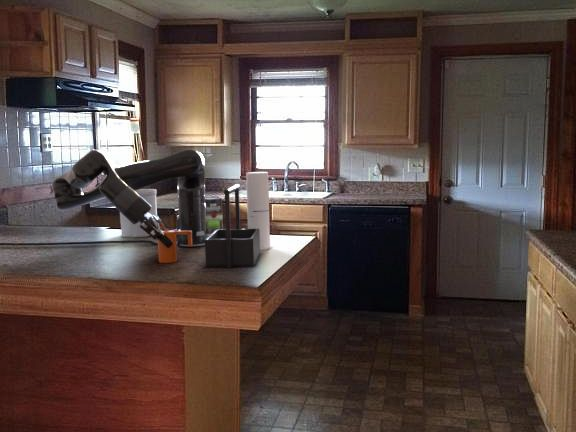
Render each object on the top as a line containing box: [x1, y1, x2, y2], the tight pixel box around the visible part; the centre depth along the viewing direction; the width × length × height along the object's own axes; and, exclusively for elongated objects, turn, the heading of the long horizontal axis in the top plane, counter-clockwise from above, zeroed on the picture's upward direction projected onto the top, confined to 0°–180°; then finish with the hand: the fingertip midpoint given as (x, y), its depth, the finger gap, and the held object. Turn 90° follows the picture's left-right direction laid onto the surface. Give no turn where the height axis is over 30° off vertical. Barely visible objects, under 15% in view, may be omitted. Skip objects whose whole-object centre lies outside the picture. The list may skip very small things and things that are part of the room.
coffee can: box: [205, 196, 224, 237], centre depth 246 cm, size 10×10×14 cm
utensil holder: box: [119, 188, 158, 238], centre depth 249 cm, size 15×15×18 cm
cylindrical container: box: [245, 171, 271, 251], centre depth 210 cm, size 7×7×25 cm
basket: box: [204, 183, 261, 269], centre depth 189 cm, size 14×24×22 cm, turn 178°
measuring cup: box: [157, 229, 192, 264], centre depth 190 cm, size 10×5×9 cm, turn 88°
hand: (173, 244), depth 190 cm, fingers closed on measuring cup, 5 cm apart
